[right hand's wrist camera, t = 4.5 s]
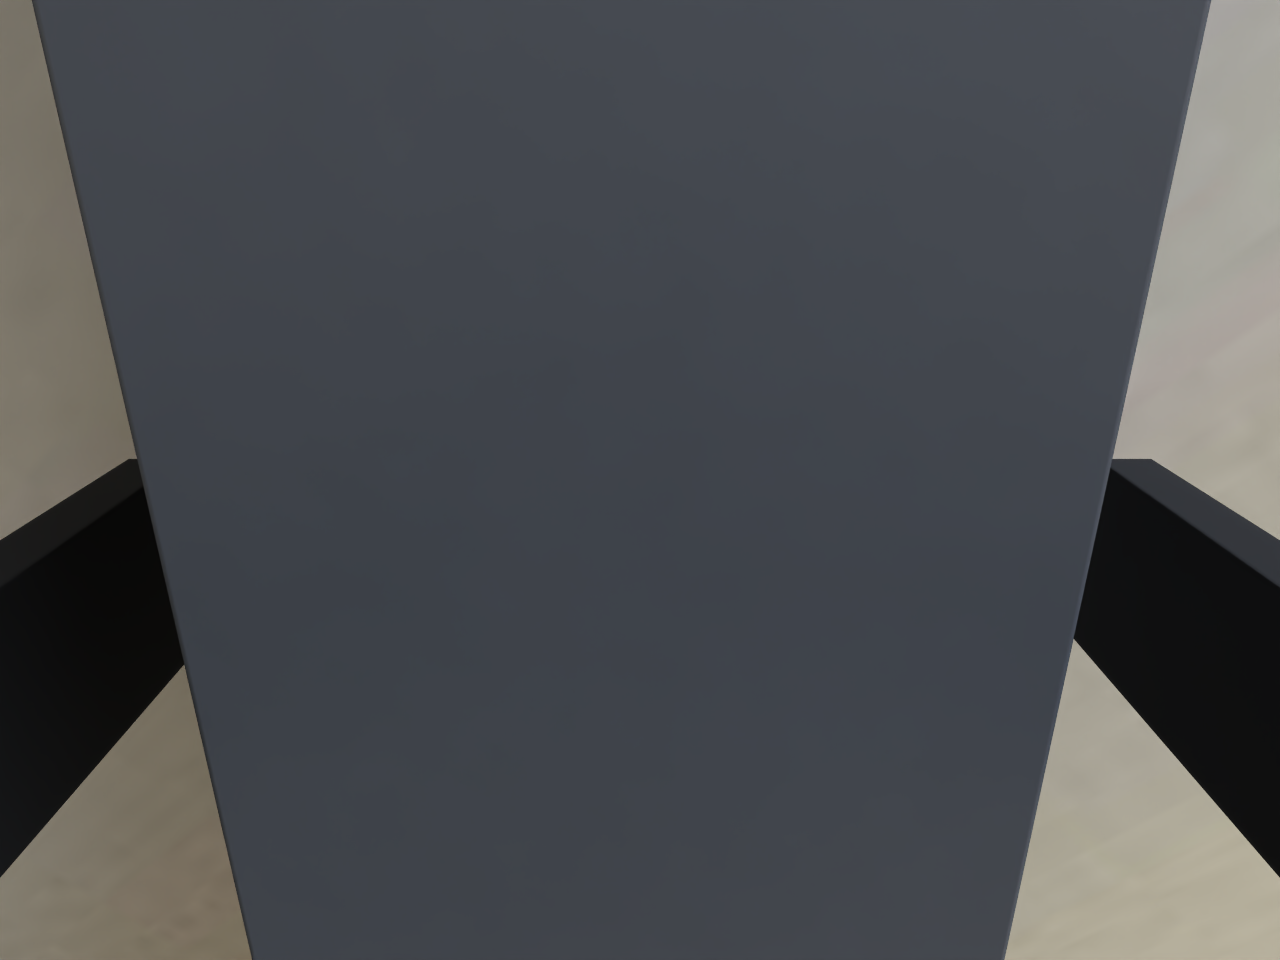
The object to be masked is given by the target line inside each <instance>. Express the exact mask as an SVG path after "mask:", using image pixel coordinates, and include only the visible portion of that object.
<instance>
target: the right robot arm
mask: <svg viewBox="0 0 1280 960" xmlns="http://www.w3.org/2000/svg"><path fill="white" fill-rule="evenodd" d="M1074 639H1075V641H1076V642H1077V643H1078V644H1079V645H1080V646H1081V648H1082V649H1083V650H1084V651H1085V652H1086V653H1087V655H1088V656H1089V657H1090V658H1091V659H1092V660H1093V662H1094V663H1095V664H1096V665H1097V666H1098V667H1099V668H1100V670H1101V671H1102V672H1103V673H1104V674H1105V675H1106V677H1107V678H1108V679H1109V680H1110V681H1111V682H1112V684H1113V685H1114V686H1115V687H1116V688H1117V689H1118V691H1119V692H1120V693H1121V694H1122V695H1123V696H1124V697H1125V699H1126V700H1127V701H1128V702H1129V703H1130V704H1131V706H1132V707H1133V708H1134V709H1135V710H1136V711H1137V713H1138V714H1139V715H1140V716H1141V717H1142V718H1143V719H1144V721H1145V722H1146V723H1147V724H1148V725H1149V726H1150V728H1151V729H1152V730H1153V731H1154V732H1155V733H1156V735H1157V736H1158V737H1159V738H1160V739H1161V740H1162V742H1163V743H1164V744H1165V745H1166V746H1167V747H1168V748H1169V750H1170V751H1171V752H1172V753H1173V754H1174V755H1175V757H1176V758H1177V759H1178V760H1179V761H1180V762H1181V764H1182V765H1183V766H1184V767H1185V768H1186V769H1187V771H1188V772H1189V773H1190V774H1191V775H1192V776H1193V777H1194V779H1195V780H1196V781H1197V782H1198V783H1199V784H1200V786H1201V787H1202V788H1203V789H1204V790H1205V791H1206V793H1207V794H1208V795H1209V796H1210V797H1211V798H1212V799H1213V801H1214V802H1215V803H1216V804H1217V805H1218V806H1219V808H1220V809H1221V810H1222V811H1223V812H1224V813H1225V815H1226V816H1227V817H1228V818H1229V819H1230V820H1231V822H1232V823H1233V824H1234V825H1235V826H1236V827H1237V828H1238V830H1239V831H1240V832H1241V833H1242V834H1243V835H1244V837H1245V838H1246V839H1247V840H1248V841H1249V842H1250V844H1251V845H1252V846H1253V847H1254V848H1255V849H1256V850H1257V852H1258V853H1259V854H1260V855H1261V856H1262V857H1263V859H1264V860H1265V861H1266V862H1267V863H1268V864H1269V866H1270V867H1271V868H1272V869H1273V870H1274V871H1275V873H1276V874H1277V875H1278V876H1279V877H1280V540H1278V539H1277V538H1275V537H1274V536H1272V535H1270V534H1269V533H1267V532H1266V531H1264V530H1262V529H1261V528H1259V527H1258V526H1256V525H1255V524H1253V523H1251V522H1250V521H1248V520H1247V519H1245V518H1244V517H1242V516H1240V515H1239V514H1237V513H1236V512H1234V511H1232V510H1231V509H1229V508H1228V507H1226V506H1225V505H1223V504H1221V503H1220V502H1218V501H1217V500H1215V499H1213V498H1212V497H1210V496H1209V495H1207V494H1206V493H1204V492H1202V491H1201V490H1199V489H1198V488H1196V487H1195V486H1193V485H1191V484H1190V483H1188V482H1187V481H1185V480H1183V479H1182V478H1180V477H1179V476H1177V475H1176V474H1174V473H1172V472H1171V471H1169V470H1168V469H1166V468H1164V467H1163V466H1161V465H1160V464H1158V463H1157V462H1155V461H1153V460H1152V459H1112V462H1111V467H1110V471H1109V476H1108V481H1107V485H1106V490H1105V495H1104V499H1103V504H1102V509H1101V513H1100V518H1099V522H1098V527H1097V532H1096V536H1095V541H1094V546H1093V550H1092V555H1091V560H1090V564H1089V569H1088V573H1087V578H1086V583H1085V587H1084V592H1083V597H1082V601H1081V606H1080V611H1079V615H1078V620H1077V624H1076V629H1075V634H1074ZM183 665H184V660H183V656H182V652H181V647H180V643H179V639H178V634H177V630H176V626H175V621H174V617H173V612H172V608H171V604H170V599H169V595H168V591H167V586H166V582H165V578H164V573H163V569H162V565H161V560H160V556H159V552H158V547H157V543H156V538H155V534H154V530H153V525H152V521H151V517H150V512H149V508H148V504H147V499H146V495H145V491H144V486H143V482H142V477H141V473H140V469H139V464H138V460H137V459H128V460H127V461H125V462H123V463H122V464H120V465H119V466H117V467H116V468H114V469H112V470H111V471H109V472H108V473H106V474H104V475H103V476H101V477H100V478H98V479H97V480H95V481H93V482H92V483H90V484H89V485H87V486H85V487H84V488H82V489H81V490H79V491H78V492H76V493H74V494H73V495H71V496H70V497H68V498H67V499H65V500H63V501H62V502H60V503H59V504H57V505H55V506H54V507H52V508H51V509H49V510H48V511H46V512H44V513H43V514H41V515H40V516H38V517H36V518H35V519H33V520H32V521H30V522H29V523H27V524H25V525H24V526H22V527H21V528H19V529H18V530H16V531H14V532H13V533H11V534H10V535H8V536H6V537H5V538H3V539H2V540H0V877H1V876H2V875H3V874H4V873H5V871H6V870H7V869H8V868H9V867H10V866H11V864H12V863H13V862H14V861H15V860H16V859H17V857H18V856H19V855H20V854H21V853H22V852H23V850H24V849H25V848H26V847H27V846H28V845H29V844H30V842H31V841H32V840H33V839H34V838H35V837H36V835H37V834H38V833H39V832H40V831H41V830H42V828H43V827H44V826H45V825H46V824H47V823H48V822H49V820H50V819H51V818H52V817H53V816H54V815H55V813H56V812H57V811H58V810H59V809H60V808H61V806H62V805H63V804H64V803H65V802H66V801H67V799H68V798H69V797H70V796H71V795H72V794H73V793H74V791H75V790H76V789H77V788H78V787H79V786H80V784H81V783H82V782H83V781H84V780H85V779H86V777H87V776H88V775H89V774H90V773H91V772H92V770H93V769H94V768H95V767H96V766H97V765H98V764H99V762H100V761H101V760H102V759H103V758H104V757H105V755H106V754H107V753H108V752H109V751H110V750H111V748H112V747H113V746H114V745H115V744H116V743H117V742H118V740H119V739H120V738H121V737H122V736H123V735H124V733H125V732H126V731H127V730H128V729H129V728H130V726H131V725H132V724H133V723H134V722H135V721H136V719H137V718H138V717H139V716H140V715H141V714H142V713H143V711H144V710H145V709H146V708H147V707H148V706H149V704H150V703H151V702H152V701H153V700H154V699H155V697H156V696H157V695H158V694H159V693H160V692H161V691H162V689H163V688H164V687H165V686H166V685H167V684H168V682H169V681H170V680H171V679H172V678H173V677H174V675H175V674H176V673H177V672H178V671H179V670H180V668H181V667H182V666H183Z"/></svg>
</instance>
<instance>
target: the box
mask: <svg viewBox="0 0 1280 960" xmlns="http://www.w3.org/2000/svg"><path fill="white" fill-rule="evenodd" d="M32 3H33V7H34V12H35V16H36V20H37V25H38V29H39V33H40V38H41V42H42V46H43V51H44V55H45V60H46V64H47V68H48V73H49V77H50V81H51V86H52V90H53V94H54V99H55V103H56V107H57V112H58V116H59V120H60V125H61V129H62V134H63V138H64V142H65V147H66V151H67V155H68V160H69V164H70V168H71V173H72V177H73V181H74V186H75V190H76V194H77V199H78V203H79V208H80V212H81V216H82V221H83V225H84V229H85V234H86V238H87V242H88V247H89V251H90V255H91V260H92V264H93V269H94V273H95V277H96V282H97V286H98V290H99V295H100V299H101V303H102V308H103V312H104V316H105V321H106V325H107V329H108V334H109V338H110V343H111V347H112V351H113V356H114V360H115V364H116V369H117V373H118V377H119V382H120V386H121V390H122V395H123V399H124V403H125V408H126V412H127V417H128V421H129V425H130V430H131V434H132V438H133V443H134V447H135V451H136V456H137V460H138V464H139V469H140V473H141V477H142V482H143V486H144V491H145V495H146V499H147V504H148V508H149V512H150V517H151V521H152V525H153V530H154V534H155V538H156V543H157V547H158V552H159V556H160V560H161V565H162V569H163V573H164V578H165V582H166V586H167V591H168V595H169V599H170V604H171V608H172V612H173V617H174V621H175V626H176V630H177V634H178V639H179V643H180V647H181V652H182V656H183V660H184V665H185V669H186V673H187V678H188V682H189V686H190V691H191V695H192V700H193V704H194V708H195V713H196V717H197V721H198V726H199V730H200V734H201V739H202V743H203V747H204V752H205V756H206V761H207V765H208V769H209V774H210V778H211V782H212V787H213V791H214V795H215V800H216V804H217V808H218V813H219V817H220V821H221V826H222V830H223V835H224V839H225V843H226V848H227V852H228V856H229V861H230V865H231V869H232V874H233V878H234V882H235V887H236V891H237V895H238V900H239V904H240V909H241V913H242V917H243V922H244V926H245V930H246V935H247V939H248V943H249V948H250V952H251V956H252V960H1004V958H1005V954H1006V949H1007V944H1008V940H1009V935H1010V931H1011V926H1012V921H1013V917H1014V912H1015V907H1016V903H1017V898H1018V893H1019V889H1020V884H1021V880H1022V875H1023V870H1024V866H1025V861H1026V856H1027V852H1028V847H1029V842H1030V838H1031V833H1032V829H1033V824H1034V819H1035V815H1036V810H1037V805H1038V801H1039V796H1040V791H1041V787H1042V782H1043V778H1044V773H1045V768H1046V764H1047V759H1048V754H1049V750H1050V745H1051V740H1052V736H1053V731H1054V727H1055V722H1056V717H1057V713H1058V708H1059V703H1060V699H1061V694H1062V689H1063V685H1064V680H1065V676H1066V671H1067V666H1068V662H1069V657H1070V652H1071V648H1072V643H1073V638H1074V634H1075V629H1076V624H1077V620H1078V615H1079V611H1080V606H1081V601H1082V597H1083V592H1084V587H1085V583H1086V578H1087V573H1088V569H1089V564H1090V560H1091V555H1092V550H1093V546H1094V541H1095V536H1096V532H1097V527H1098V522H1099V518H1100V513H1101V509H1102V504H1103V499H1104V495H1105V490H1106V485H1107V481H1108V476H1109V471H1110V467H1111V462H1112V458H1113V453H1114V448H1115V444H1116V439H1117V434H1118V430H1119V425H1120V420H1121V416H1122V411H1123V407H1124V402H1125V397H1126V393H1127V388H1128V383H1129V379H1130V374H1131V369H1132V365H1133V360H1134V356H1135V351H1136V346H1137V342H1138V337H1139V332H1140V328H1141V323H1142V318H1143V314H1144V309H1145V304H1146V300H1147V295H1148V291H1149V286H1150V281H1151V277H1152V272H1153V267H1154V263H1155V258H1156V253H1157V249H1158V244H1159V240H1160V235H1161V230H1162V226H1163V221H1164V216H1165V212H1166V207H1167V202H1168V198H1169V193H1170V189H1171V184H1172V179H1173V175H1174V170H1175V165H1176V161H1177V156H1178V151H1179V147H1180V142H1181V138H1182V133H1183V128H1184V124H1185V119H1186V114H1187V110H1188V105H1189V100H1190V96H1191V91H1192V87H1193V82H1194V77H1195V73H1196V68H1197V63H1198V59H1199V54H1200V49H1201V45H1202V40H1203V36H1204V31H1205V26H1206V22H1207V17H1208V12H1209V8H1210V3H1211V0H32Z"/></svg>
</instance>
